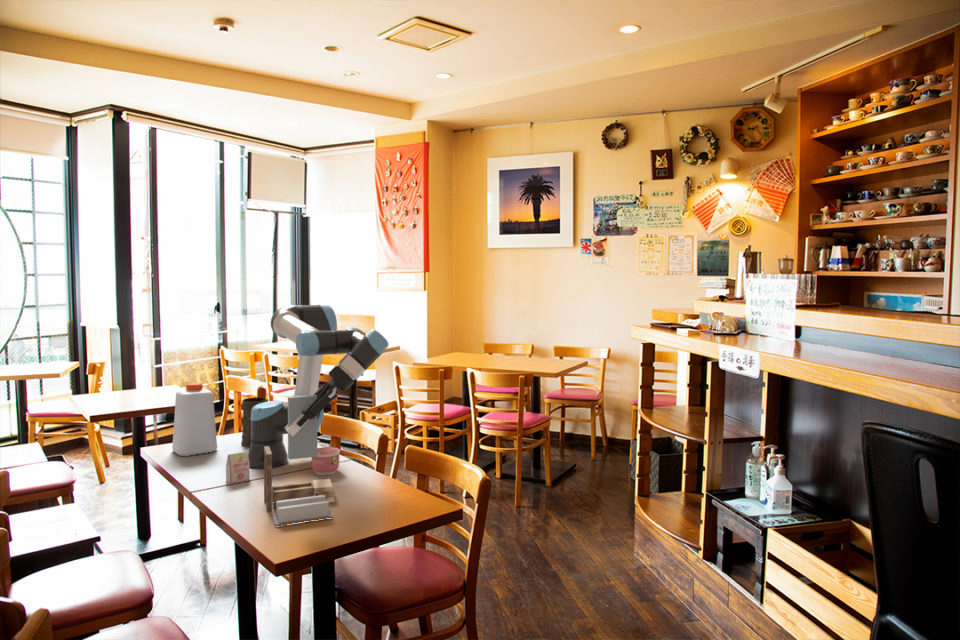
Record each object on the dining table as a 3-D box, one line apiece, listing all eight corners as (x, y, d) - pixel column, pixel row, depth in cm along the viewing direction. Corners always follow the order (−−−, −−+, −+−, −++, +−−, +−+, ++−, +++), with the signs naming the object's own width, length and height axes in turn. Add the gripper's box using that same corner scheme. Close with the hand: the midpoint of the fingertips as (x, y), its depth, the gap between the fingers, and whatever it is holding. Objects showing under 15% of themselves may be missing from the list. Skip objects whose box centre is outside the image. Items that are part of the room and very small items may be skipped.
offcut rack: (330, 492, 194) (330, 440, 193) (335, 502, 184) (335, 447, 184) (264, 500, 185) (263, 446, 184) (266, 511, 176) (266, 454, 175)
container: (311, 477, 208) (311, 455, 208) (310, 469, 218) (310, 448, 218) (341, 475, 212) (341, 453, 211) (338, 466, 222) (338, 446, 221)
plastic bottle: (208, 444, 250) (208, 379, 249) (220, 451, 239) (219, 384, 238) (169, 450, 240) (169, 383, 239) (180, 458, 229) (179, 388, 228)
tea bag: (226, 481, 202) (225, 453, 202) (245, 477, 207) (245, 450, 206) (230, 484, 200) (229, 455, 199) (249, 480, 204) (249, 452, 204)
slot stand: (327, 508, 179) (327, 493, 179) (332, 519, 171) (332, 503, 171) (272, 516, 172) (272, 500, 172) (275, 527, 164) (275, 510, 164)
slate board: (315, 454, 173) (315, 394, 173) (317, 456, 171) (317, 396, 170) (288, 457, 170) (287, 396, 169) (289, 459, 168) (288, 397, 167)
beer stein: (237, 442, 254) (237, 397, 252) (261, 438, 261) (262, 395, 258) (249, 452, 242) (249, 406, 240) (274, 448, 249) (275, 403, 247)
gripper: (360, 384, 169) (301, 446, 163) (349, 377, 183) (294, 434, 177) (342, 367, 167) (282, 429, 160) (332, 361, 181) (276, 418, 174)
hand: (288, 432), depth 169 cm, fingers closed on slate board, 2 cm apart
